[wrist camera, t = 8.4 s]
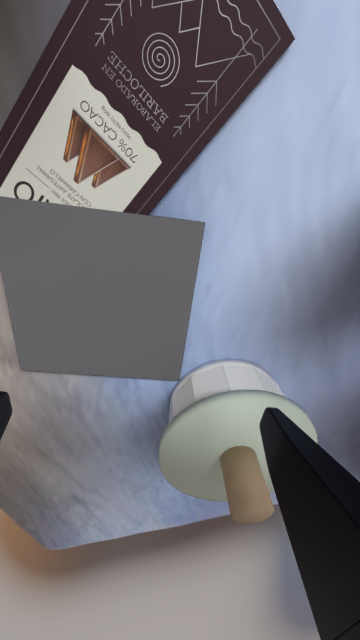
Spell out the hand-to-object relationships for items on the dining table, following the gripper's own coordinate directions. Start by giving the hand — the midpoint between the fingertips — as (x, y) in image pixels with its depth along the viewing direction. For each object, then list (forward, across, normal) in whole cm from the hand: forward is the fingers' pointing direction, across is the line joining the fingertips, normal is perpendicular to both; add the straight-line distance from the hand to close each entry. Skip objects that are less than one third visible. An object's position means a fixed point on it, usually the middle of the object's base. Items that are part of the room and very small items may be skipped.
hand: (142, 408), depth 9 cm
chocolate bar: (+13, +3, -10) cm, 17 cm away
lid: (+8, -8, +12) cm, 16 cm away
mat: (+12, +4, +2) cm, 13 cm away
